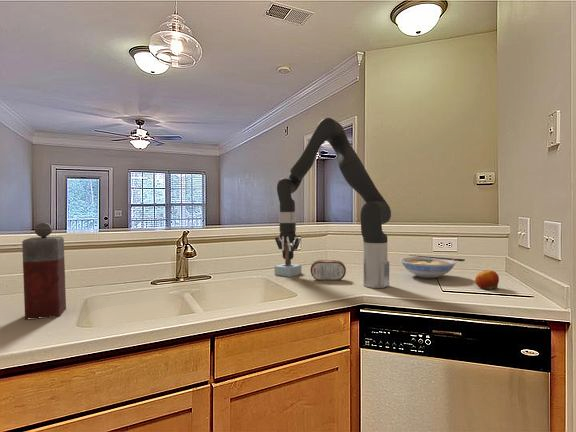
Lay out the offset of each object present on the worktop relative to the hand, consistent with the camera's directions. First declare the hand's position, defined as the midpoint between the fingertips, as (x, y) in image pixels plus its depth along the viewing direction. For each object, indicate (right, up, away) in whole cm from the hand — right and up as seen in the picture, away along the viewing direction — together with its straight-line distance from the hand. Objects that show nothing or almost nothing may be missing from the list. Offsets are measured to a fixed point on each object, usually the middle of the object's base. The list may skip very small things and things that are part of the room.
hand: (287, 258), depth 171 cm
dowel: (0, -3, 0) cm, 3 cm away
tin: (+17, -8, -14) cm, 23 cm away
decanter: (-74, -10, -57) cm, 94 cm away
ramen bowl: (+61, -7, -10) cm, 62 cm away
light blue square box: (0, -7, 0) cm, 7 cm away
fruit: (+75, -8, -32) cm, 82 cm away
